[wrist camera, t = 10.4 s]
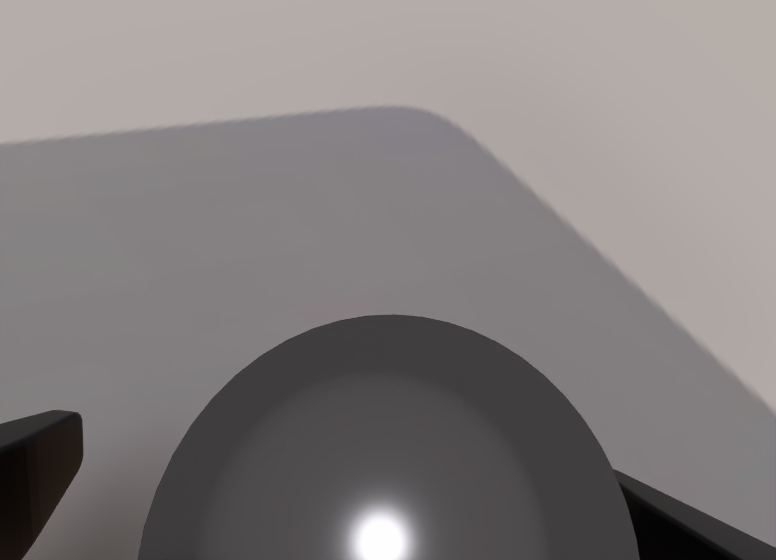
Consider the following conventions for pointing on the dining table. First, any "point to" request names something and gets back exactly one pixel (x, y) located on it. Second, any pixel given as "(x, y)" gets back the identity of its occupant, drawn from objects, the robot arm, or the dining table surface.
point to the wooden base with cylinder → (389, 457)
